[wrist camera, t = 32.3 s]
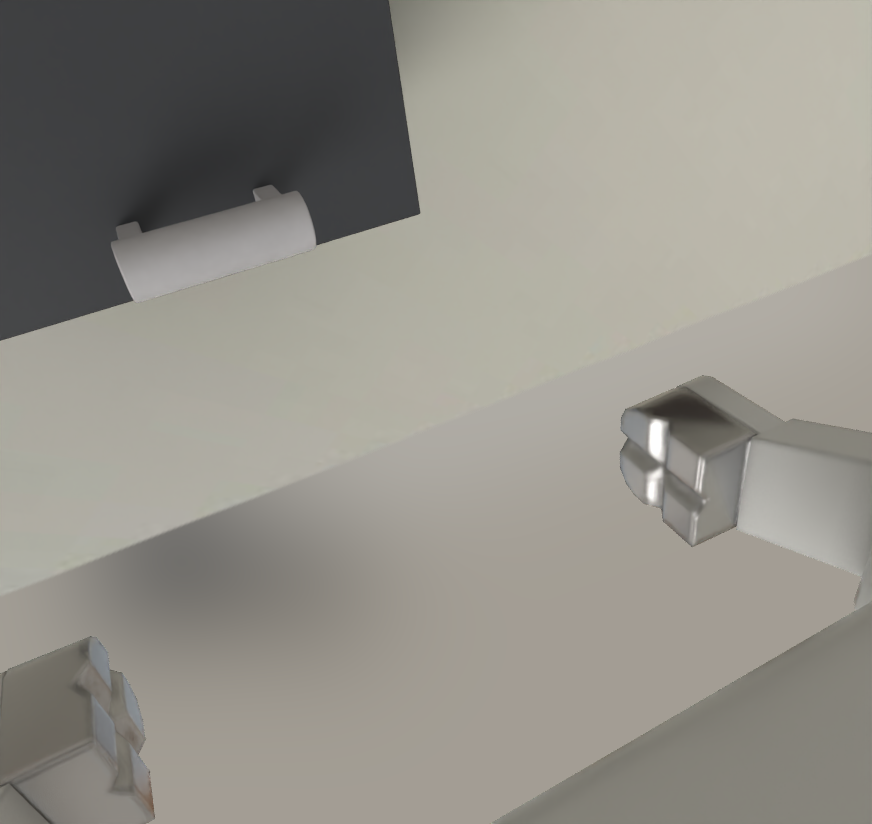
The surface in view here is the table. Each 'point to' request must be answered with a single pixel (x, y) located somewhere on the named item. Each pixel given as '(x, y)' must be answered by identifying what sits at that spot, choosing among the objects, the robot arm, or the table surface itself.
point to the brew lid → (187, 143)
